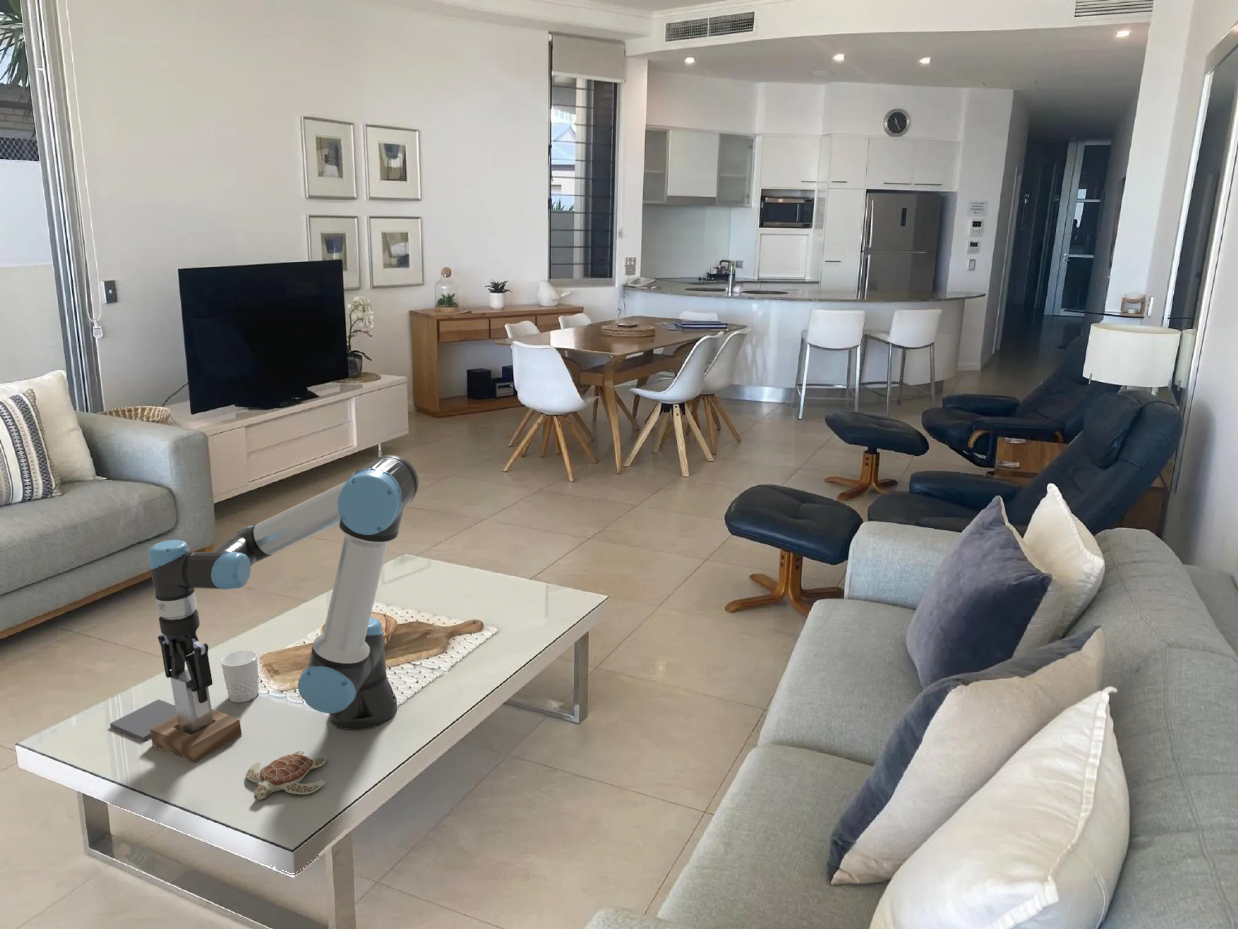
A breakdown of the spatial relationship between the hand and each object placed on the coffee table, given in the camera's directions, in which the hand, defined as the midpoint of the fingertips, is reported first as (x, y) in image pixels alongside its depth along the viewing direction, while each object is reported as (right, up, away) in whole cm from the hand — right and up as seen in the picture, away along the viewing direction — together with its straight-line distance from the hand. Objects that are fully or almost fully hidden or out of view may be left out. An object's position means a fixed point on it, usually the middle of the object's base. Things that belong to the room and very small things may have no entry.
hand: (194, 711), depth 202 cm
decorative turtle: (+25, -11, -13) cm, 30 cm away
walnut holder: (0, -7, +2) cm, 7 cm away
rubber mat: (-14, -5, +10) cm, 18 cm away
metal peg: (0, -5, +1) cm, 5 cm away
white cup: (+3, -2, +20) cm, 21 cm away
